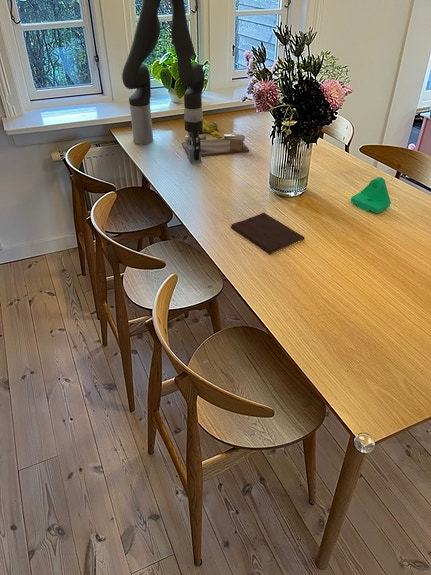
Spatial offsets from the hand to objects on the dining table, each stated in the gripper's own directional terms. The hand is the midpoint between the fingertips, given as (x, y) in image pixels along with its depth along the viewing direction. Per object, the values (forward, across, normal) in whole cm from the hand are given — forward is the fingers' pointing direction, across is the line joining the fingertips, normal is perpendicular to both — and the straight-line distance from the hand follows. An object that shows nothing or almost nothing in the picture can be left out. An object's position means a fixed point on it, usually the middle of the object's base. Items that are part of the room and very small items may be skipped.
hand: (194, 156), depth 193 cm
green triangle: (+3, +55, +54) cm, 77 cm away
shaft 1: (-2, -12, +3) cm, 12 cm away
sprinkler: (+2, -32, +12) cm, 34 cm away
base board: (+2, -12, +12) cm, 17 cm away
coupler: (+2, 0, 0) cm, 2 cm away
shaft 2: (-2, -8, +20) cm, 22 cm away
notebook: (+3, +64, +11) cm, 65 cm away
